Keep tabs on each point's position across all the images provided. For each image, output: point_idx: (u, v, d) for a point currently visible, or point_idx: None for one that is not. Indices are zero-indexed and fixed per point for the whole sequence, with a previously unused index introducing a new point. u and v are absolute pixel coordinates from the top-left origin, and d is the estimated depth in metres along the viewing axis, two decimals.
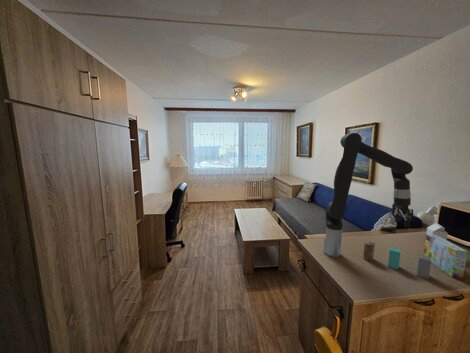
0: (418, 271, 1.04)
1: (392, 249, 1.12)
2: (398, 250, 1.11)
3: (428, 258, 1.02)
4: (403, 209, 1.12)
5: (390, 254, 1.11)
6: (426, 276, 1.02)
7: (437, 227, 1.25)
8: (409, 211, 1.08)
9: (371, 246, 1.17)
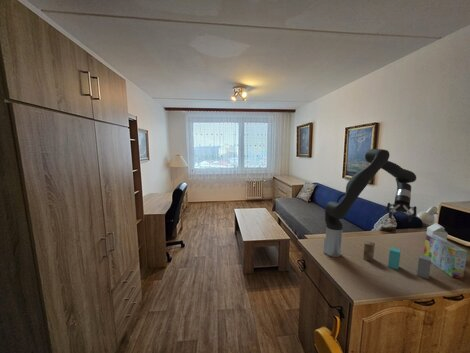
0: (418, 271, 1.04)
1: (392, 249, 1.12)
2: (398, 250, 1.11)
3: (428, 258, 1.02)
4: (407, 206, 1.21)
5: (390, 254, 1.11)
6: (426, 276, 1.02)
7: (437, 227, 1.25)
8: None
9: (371, 246, 1.17)
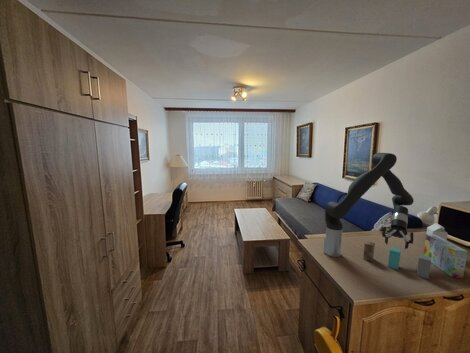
0: (418, 271, 1.04)
1: (392, 249, 1.12)
2: (398, 250, 1.11)
3: (428, 258, 1.02)
4: (404, 232, 1.17)
5: (390, 254, 1.11)
6: (426, 276, 1.02)
7: (437, 227, 1.25)
8: None
9: (371, 246, 1.17)
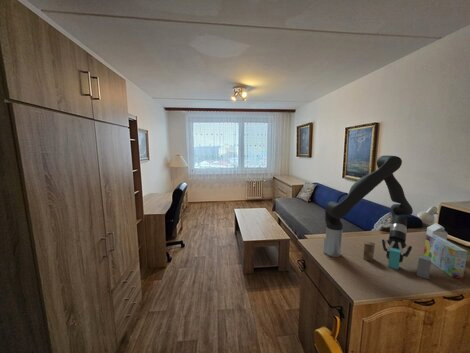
0: (418, 271, 1.04)
1: (392, 249, 1.12)
2: (398, 250, 1.11)
3: (428, 258, 1.02)
4: (403, 245, 1.12)
5: (390, 254, 1.11)
6: (426, 276, 1.02)
7: (437, 227, 1.25)
8: (411, 248, 1.10)
9: (371, 246, 1.17)
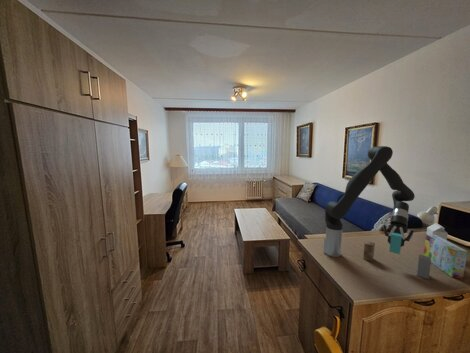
0: (418, 271, 1.04)
1: (394, 233, 1.11)
2: (400, 234, 1.09)
3: (428, 258, 1.02)
4: (404, 229, 1.11)
5: (391, 238, 1.10)
6: (426, 276, 1.02)
7: (437, 227, 1.25)
8: None
9: (371, 246, 1.17)
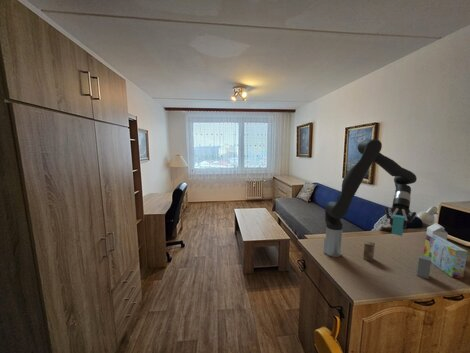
0: (418, 271, 1.04)
1: (396, 215, 1.09)
2: (402, 216, 1.08)
3: (428, 258, 1.02)
4: (407, 211, 1.10)
5: (394, 220, 1.09)
6: (426, 276, 1.02)
7: (437, 227, 1.25)
8: (415, 214, 1.07)
9: (371, 246, 1.17)
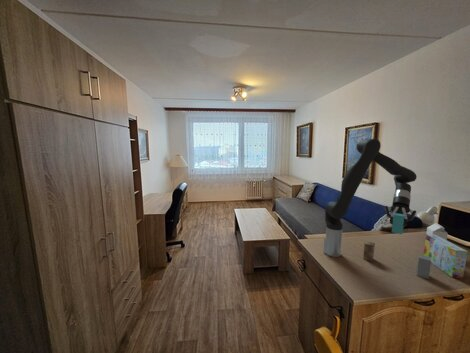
0: (418, 271, 1.04)
1: (396, 214, 1.09)
2: (402, 214, 1.08)
3: (428, 258, 1.02)
4: (407, 210, 1.09)
5: (394, 219, 1.09)
6: (426, 276, 1.02)
7: (437, 227, 1.25)
8: (415, 213, 1.07)
9: (371, 246, 1.17)
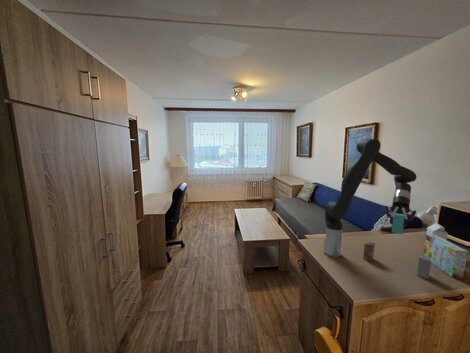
0: (418, 271, 1.04)
1: (396, 214, 1.09)
2: (402, 214, 1.08)
3: (428, 258, 1.02)
4: (407, 210, 1.09)
5: (394, 219, 1.09)
6: (426, 276, 1.02)
7: (437, 227, 1.25)
8: (415, 213, 1.07)
9: (371, 246, 1.17)
